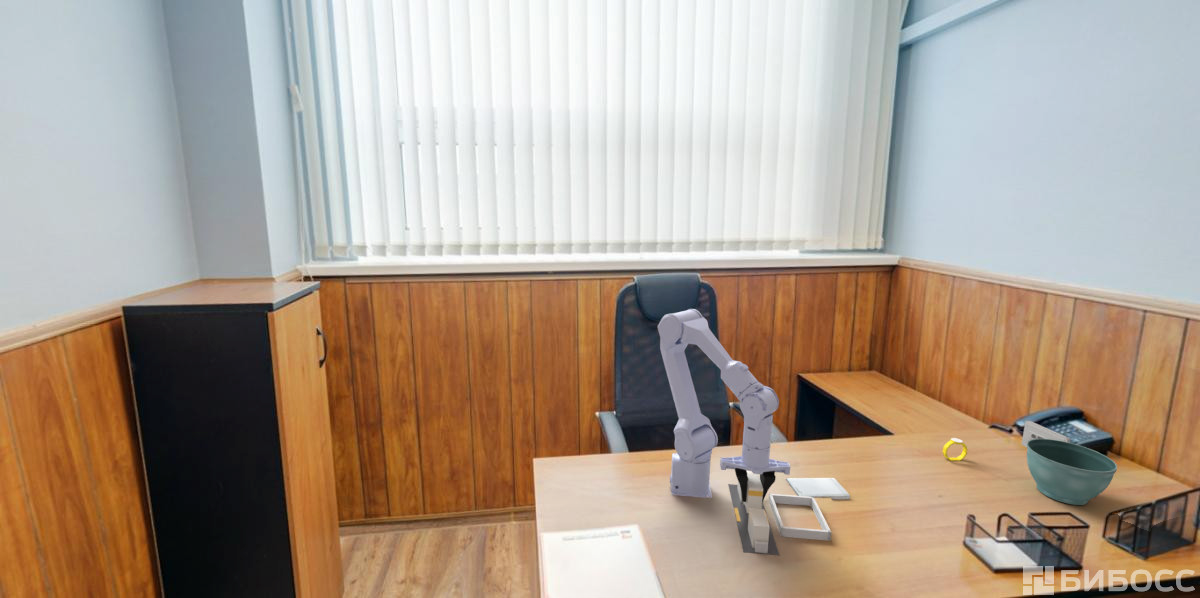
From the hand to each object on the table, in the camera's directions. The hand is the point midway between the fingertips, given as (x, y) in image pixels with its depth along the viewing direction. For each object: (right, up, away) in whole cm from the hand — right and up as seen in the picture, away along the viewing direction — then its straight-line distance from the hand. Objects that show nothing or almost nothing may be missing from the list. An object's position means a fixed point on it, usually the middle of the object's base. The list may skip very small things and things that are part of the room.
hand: (752, 500), depth 115 cm
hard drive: (+20, -3, +13) cm, 23 cm away
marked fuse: (0, -1, 0) cm, 1 cm away
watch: (+64, 0, +28) cm, 70 cm away
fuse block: (0, -4, +1) cm, 4 cm away
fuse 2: (-1, -5, -7) cm, 9 cm away
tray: (+10, -5, 0) cm, 11 cm away
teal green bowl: (+79, -3, +11) cm, 80 cm away
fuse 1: (+1, -2, +8) cm, 9 cm away
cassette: (+91, 0, +32) cm, 97 cm away
